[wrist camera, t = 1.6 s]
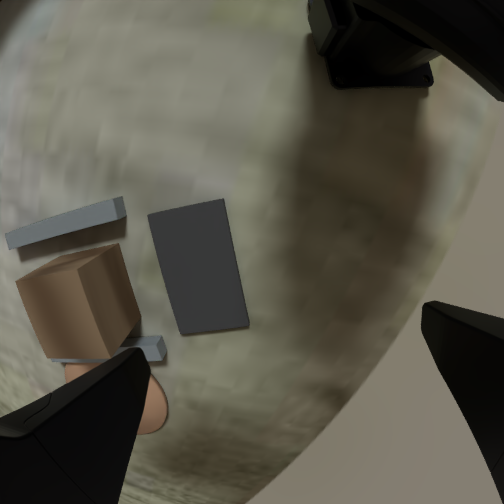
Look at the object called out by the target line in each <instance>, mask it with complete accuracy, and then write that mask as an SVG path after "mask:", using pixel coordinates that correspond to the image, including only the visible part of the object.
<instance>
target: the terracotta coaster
mask: <svg viewBox="0 0 504 504" xmlns="http://www.w3.org/2000/svg"><path fill="white" fill-rule="evenodd" d="M100 364H102V363H73V362H67V364H66V367H65V379H66V383H69V382H70V381H72V380H74V379H76V378H77V377H79V376H81V375H83V374H84V373H86V372H88V371H90V370H91V369H93V368H95V367H97V366H98V365H100ZM167 412H168V402H167V398H166V395H165V393H164V391H163V389H162V387H161V385H160V384H159V382H158V381H157V380H156V379H155V377H154V376H153V375H152V374H151V376H150V381H149V386H148V391H147V396H146V402H145V407H144V411H143V415H142V419H141V422H140V425H139V429H138V432H137V434H139V435H140V434H147V433H151V432H154V431H155V430H157V429H159V428H160V427H161V426H162V424H163V423H164V421H165V418H166V415H167Z"/></svg>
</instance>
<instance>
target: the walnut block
mask: <svg viewBox="0 0 504 504" xmlns="http://www.w3.org/2000/svg"><path fill="white" fill-rule="evenodd" d="M15 282H16V285H17V288H18V290H19V293H20V296H21V299H22V301H23V304H24V307H25V309H26V312H27V314H28V317H29V319H30V322H31V324H32V326H33V329H34V331H35V333H36V335H37V338H38V340H39V342H40V344H41V346H42V348H43V351H44V353H45V355H46V357H47V358H53V359H111V358H112V356H113V355H114V353H115V352H116V351H117V349H118V348H119V347H120V345H121V344H122V342H123V341H124V340H125V338H126V337H127V336H128V334H129V333H130V331H131V330H132V329H133V327H134V326H135V325H136V323H137V322H138V321H139V319H140V318H141V314H140V311H139V308H138V305H137V302H136V299H135V296H134V293H133V289H132V286H131V283H130V280H129V277H128V273H127V270H126V266H125V263H124V259H123V256H122V252H121V249H120V245H119V243H117V244H112V245H108V246H103V247H98V248H94V249H89V250H85V251H80V252H76V253H72V254H67V255H63V256H60V257H58V258H56V259H54V260H52V261H50V262H49V263H47V264H45V265H43V266H41V267H40V268H38V269H36V270H34V271H32V272H31V273H29V274H27V275H25V276H24V277H22V278H20V279H19V280H17V281H15Z"/></svg>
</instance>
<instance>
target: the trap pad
mask: <svg viewBox="0 0 504 504" xmlns="http://www.w3.org/2000/svg"><path fill="white" fill-rule="evenodd" d="M147 216H148V221H149V225H150V229H151V233H152V237H153V241H154V245H155V249H156V253H157V257H158V260H159V264H160V268H161V271H162V275H163V279H164V282H165V286H166V289H167V293H168V296H169V299H170V303H171V306H172V309H173V313H174V316H175V319H176V322H177V325H178V328H179V332H180V334H186V333H195V332H204V331H213V330H221V329H229V328H237V327H244V326H249V323H250V322H249V318H248V313H247V308H246V304H245V299H244V294H243V290H242V285H241V280H240V275H239V271H238V266H237V261H236V256H235V251H234V246H233V242H232V237H231V232H230V227H229V222H228V217H227V212H226V207H225V202H224V199H218V200H213V201H208V202H203V203H198V204H194V205H189V206H184V207H179V208H175V209H170V210H165V211H161V212H156V213H152V214H149V215H147Z"/></svg>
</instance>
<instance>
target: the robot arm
mask: <svg viewBox="0 0 504 504" xmlns="http://www.w3.org/2000/svg"><path fill="white" fill-rule="evenodd" d="M308 2H309V6H310V12H309V15H308V21H309V24H310V28H311V31H312V35H313V38H314V42H315V46H316V50H317V53H318V54H319V55H320V56H321V57H324V58H325V62H326V66H327V70H328V74H329V79H330V82H331V85H332V86H333V87H334V88H336V89H338V90H345V89H361V88H394V87H410V88H427V87H430V86H432V85H433V83H434V80H433V75H432V71H431V68H430V64H429V61H430V60H432V59H434V58H436V57H438V56H440V55H443V56H444V57H446V58H447V59H448V60H450V61H451V62H452V63H453V64H455V65H456V66H457V67H459V68H460V69H461V70H462V71H464V72H465V73H466V74H467V75H469V76H470V77H471V78H472V79H473V80H475V81H476V82H477V83H478V84H479V85H480V86H481V87H483V88H484V89H485V90H486V91H487V92H488V93H489V94H491V95H492V96H493V97H494V98H495V99H496V100H498V101H501V102H504V0H308ZM423 76H424V77H425V78H426V79H427V82H425V81H424V79H423ZM337 77H340V78H342V79H343V84H339V83H338V82H337V81H336V78H337ZM421 331H422V334H423V336H424V338H425V340H426V343H427V345H428V347H429V350H430V352H431V354H432V356H433V359H434V361H435V363H436V365H437V368H438V370H439V371H440V373H441V375H442V377H443V379H444V380H445V382H446V384H447V386H448V387H449V389H450V391H451V393H452V395H453V397H454V398H455V400H456V402H457V404H458V406H459V408H460V410H461V412H462V413H463V416H464V417H465V419H466V421H467V423H468V425H469V427H470V429H471V431H472V433H473V435H474V438H475V440H476V442H477V444H478V446H479V448H480V450H481V452H482V455H483V457H484V459H485V461H486V463H487V466H488V468H489V470H490V472H491V475H492V478H493V480H494V482H495V484H496V488H497V490H498V492H499V495H500V498H501V500H502V503H503V504H504V319H503V318H500V317H496V316H492V315H488V314H484V313H480V312H477V311H473V310H469V309H465V308H461V307H458V306H454V305H450V304H446V303H443V302H439V301H430V302H427V303H424V305H423V307H422V319H421ZM150 376H151V369H150V366H149V364H148V361H147V359H146V356H145V354H144V352H143V350H142V349H141V348H140V347H131V348H128V349H126V350H124V351H123V352H121V353H119V354H117V355H116V356H114V357H112V358H111V359H109V360H107V361H105V362H104V363H102V364H100V365H98V366H97V367H95V368H93V369H91V370H90V371H88V372H86V373H84V374H83V375H81V376H79V377H77V378H76V379H74V380H72V381H70V382H69V383H67V384H65V385H63V386H61V387H60V388H58V389H56V390H54V391H53V392H52V393H49V394H47V395H45V396H43V397H42V398H40V399H38V400H36V401H34V402H32V403H30V404H28V405H26V406H24V407H22V408H20V409H18V410H16V411H14V412H11V413H9V414H7V415H5V416H3V417H0V504H118V501H119V497H120V493H121V490H122V486H123V482H124V478H125V474H126V471H127V467H128V463H129V460H130V456H131V453H132V449H133V446H134V442H135V439H136V435H137V432H138V429H139V425H140V422H141V419H142V415H143V411H144V407H145V402H146V396H147V391H148V386H149V381H150Z"/></svg>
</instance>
